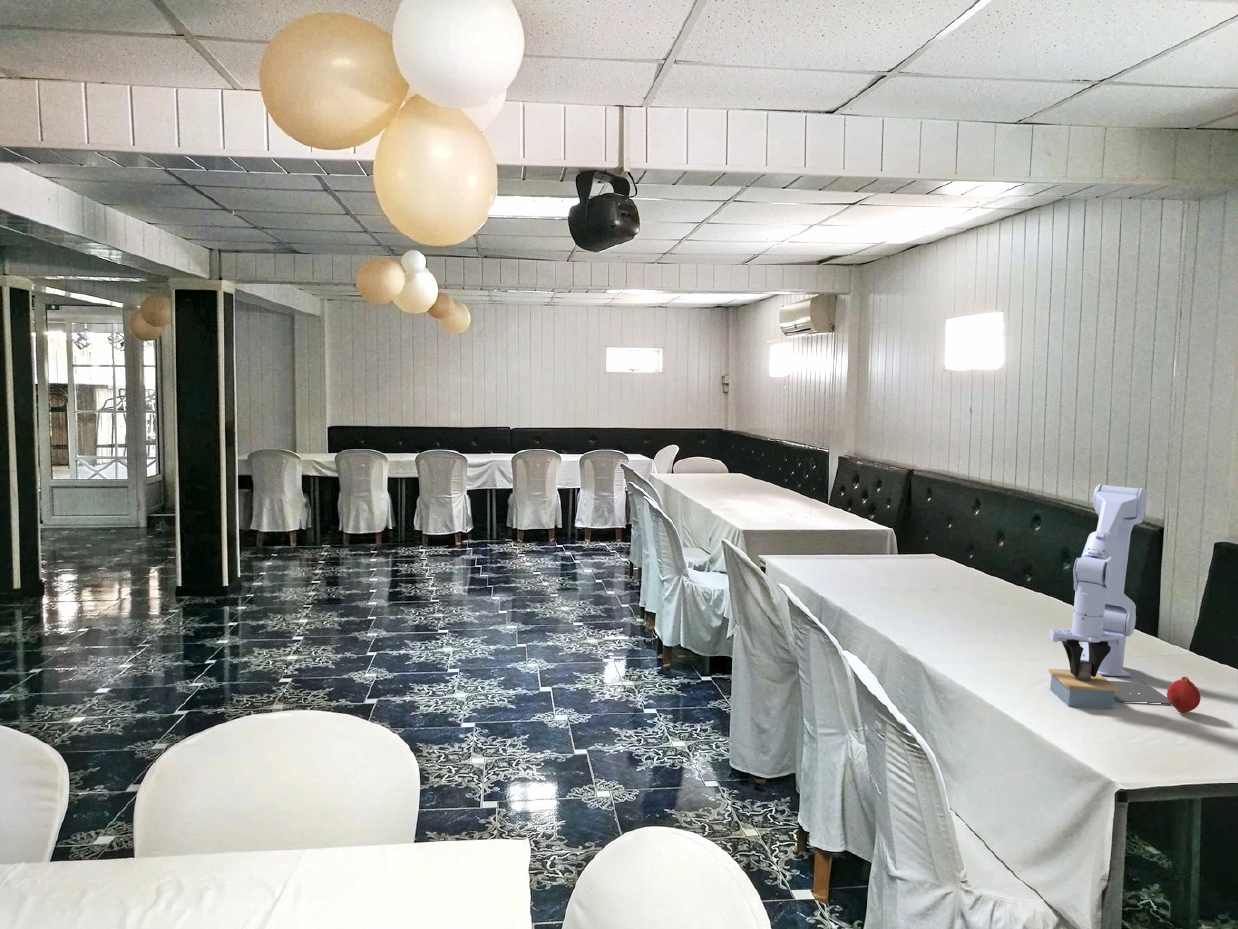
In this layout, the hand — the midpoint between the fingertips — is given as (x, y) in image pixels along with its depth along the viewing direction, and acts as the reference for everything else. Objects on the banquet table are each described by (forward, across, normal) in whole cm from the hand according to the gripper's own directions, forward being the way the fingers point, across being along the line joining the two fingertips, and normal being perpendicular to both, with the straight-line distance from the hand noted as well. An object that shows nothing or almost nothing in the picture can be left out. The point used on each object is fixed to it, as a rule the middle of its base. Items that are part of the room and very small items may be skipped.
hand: (1083, 674), depth 182 cm
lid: (+1, 0, 0) cm, 1 cm away
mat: (+5, +13, +5) cm, 15 cm away
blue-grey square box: (+5, 0, 0) cm, 5 cm away
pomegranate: (+6, +18, -5) cm, 20 cm away
